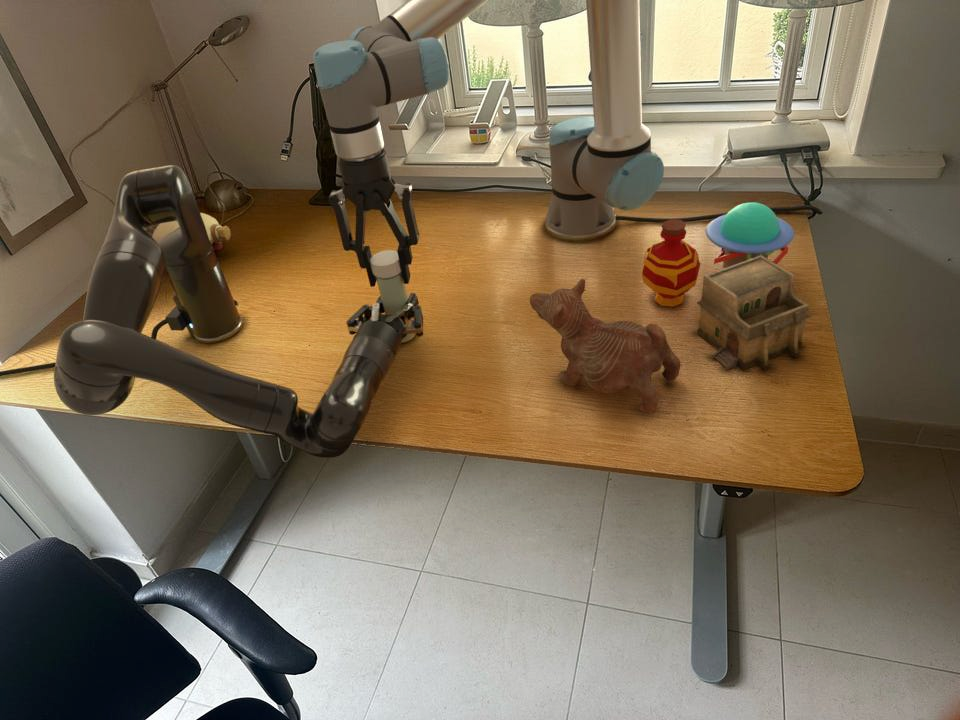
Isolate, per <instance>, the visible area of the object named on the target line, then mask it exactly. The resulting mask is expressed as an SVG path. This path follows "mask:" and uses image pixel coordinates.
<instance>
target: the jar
mask: <svg viewBox="0 0 960 720" xmlns="http://www.w3.org/2000/svg"><path fill="white" fill-rule="evenodd" d="M376 279H377V281H376V284H377V286H378V291H379V296H380V295H381V299H382V303H383V308H384V314H385V315H391V314H393V313H395V312H396V311H397V310H398V309H402V308H403V307H404V306H405V305H406V302H407V300H408V298H409V296H408V292H407V288H406V284H404V280H403V276H402V271H401V272H400V273H399V274H397V275H395V276H392V277H388V278H379V277H376ZM412 320H413V319H412ZM412 320H411V321H412ZM411 321H410V322H409V324H408V326H409V325H410V323H412V322H411ZM408 326H407V327H408ZM415 336H416V333H412V334H407V336H406V337H405V338H404V339H403V340H402V341H401V344H402V343H407V342H409V341H411V340H413V338H415Z"/></svg>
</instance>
